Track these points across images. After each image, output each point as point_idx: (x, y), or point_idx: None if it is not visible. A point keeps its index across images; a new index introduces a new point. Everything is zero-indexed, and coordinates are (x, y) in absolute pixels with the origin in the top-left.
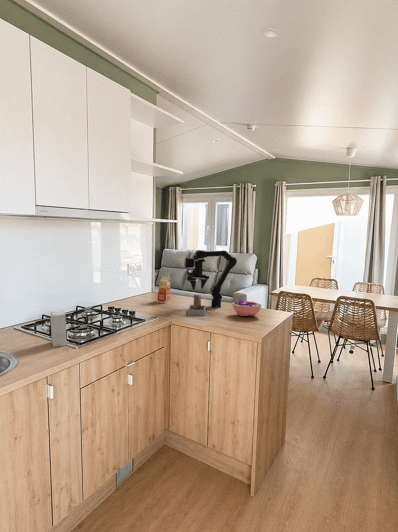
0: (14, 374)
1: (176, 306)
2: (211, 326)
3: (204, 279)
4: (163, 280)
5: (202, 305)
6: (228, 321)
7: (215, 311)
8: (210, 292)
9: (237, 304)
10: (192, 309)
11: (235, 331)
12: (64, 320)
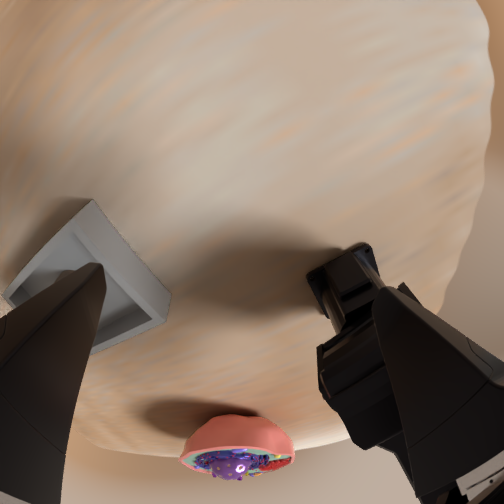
0: None
1: (105, 31)
2: None
3: (443, 483)
4: None
5: (147, 304)
6: (117, 411)
7: (204, 341)
8: (372, 339)
9: (196, 460)
10: (80, 243)
11: (76, 425)
12: None
